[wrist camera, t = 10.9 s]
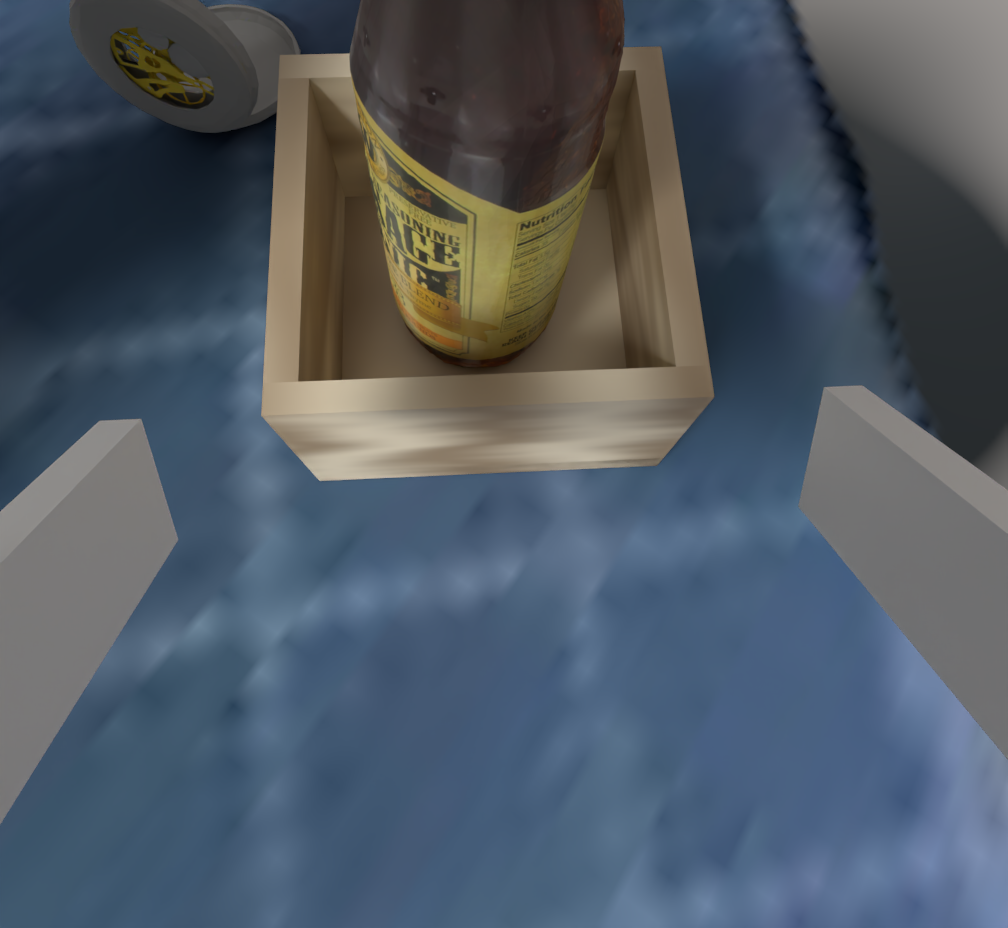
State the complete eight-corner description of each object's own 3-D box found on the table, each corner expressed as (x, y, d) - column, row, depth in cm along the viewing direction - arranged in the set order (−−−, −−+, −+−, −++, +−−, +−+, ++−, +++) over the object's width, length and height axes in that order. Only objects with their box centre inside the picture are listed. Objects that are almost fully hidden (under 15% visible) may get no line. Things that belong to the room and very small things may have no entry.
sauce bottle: (375, 268, 27) (151, -638, 8) (517, 219, 28) (608, -695, 9) (435, 409, 26) (325, -311, 7) (583, 353, 27) (857, -421, 8)
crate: (319, 481, 26) (261, 415, 19) (326, 193, 30) (280, 54, 23) (657, 465, 26) (714, 396, 20) (622, 184, 30) (660, 46, 24)
